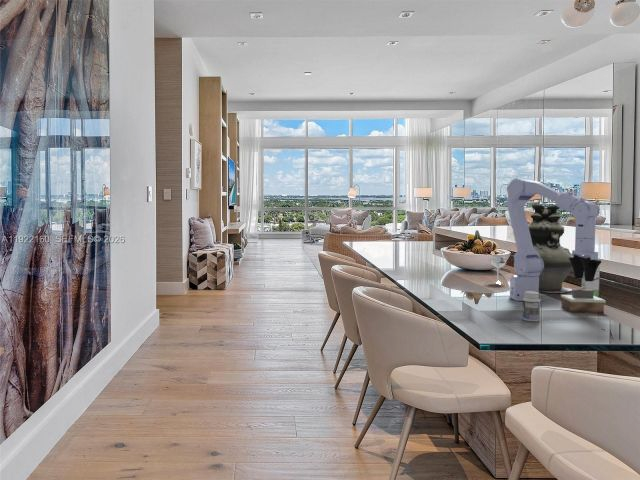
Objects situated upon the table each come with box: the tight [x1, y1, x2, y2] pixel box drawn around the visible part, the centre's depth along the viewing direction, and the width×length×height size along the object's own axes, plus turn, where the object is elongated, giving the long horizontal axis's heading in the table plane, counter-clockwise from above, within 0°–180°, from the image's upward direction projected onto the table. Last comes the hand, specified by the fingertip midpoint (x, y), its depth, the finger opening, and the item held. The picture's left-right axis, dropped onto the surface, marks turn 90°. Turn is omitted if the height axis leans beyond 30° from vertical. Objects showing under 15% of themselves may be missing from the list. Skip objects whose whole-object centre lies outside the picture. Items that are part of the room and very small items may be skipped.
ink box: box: [581, 265, 601, 297], centre depth 194 cm, size 9×5×12 cm, turn 162°
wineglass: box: [490, 254, 508, 285], centre depth 223 cm, size 7×7×12 cm
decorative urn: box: [528, 204, 573, 294], centre depth 205 cm, size 21×21×35 cm
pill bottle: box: [522, 291, 541, 322], centre depth 150 cm, size 5×5×8 cm
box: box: [561, 297, 605, 314], centre depth 165 cm, size 10×8×3 cm
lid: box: [560, 288, 607, 304], centre depth 165 cm, size 11×9×3 cm
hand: (583, 279), depth 165 cm, fingers open, 7 cm apart
